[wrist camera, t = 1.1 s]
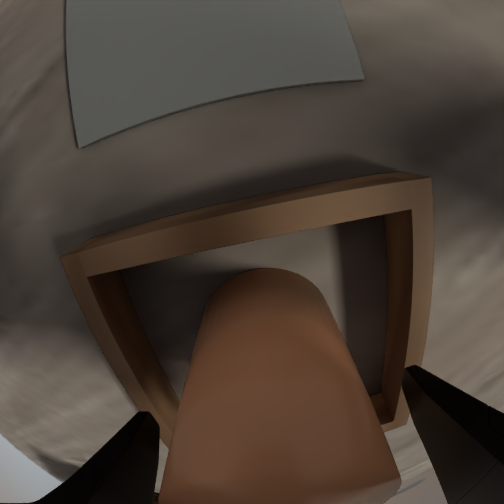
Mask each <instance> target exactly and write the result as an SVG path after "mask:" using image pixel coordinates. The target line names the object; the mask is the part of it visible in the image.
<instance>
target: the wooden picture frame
mask: <svg viewBox="0 0 504 504" xmlns="http://www.w3.org/2000/svg"><path fill="white" fill-rule="evenodd" d="M383 214H384V220H385V234H386V252H387V326H386V344H385V358H384V369H383V378H382V387H381V393H378V394H375V395H372V396H369V398H370V400H371V402H372V405H373V407H374V410H375V412H376V415H377V417H378V419H379V422H380V424H381V427H382V429H383V432H387V431H390V430H392V429H395V428H398V427H401V426H403V425H406V424H407V420H408V417H409V414H410V411H409V408H408V405H407V402H406V399H405V396H404V393H403V390H402V378H403V372H404V369H405V368H406V367H408V366H411V365H418V366H419V367H421V365H422V360H423V354H424V349H425V343H426V337H427V330H428V323H429V315H430V306H431V296H432V283H433V266H434V209H433V191H432V179H431V177H427V176H422V175H417V174H411V173H406V172H400V171H398V172H390V173H383V174H376V175H370V176H363V177H357V178H350V179H344V180H338V181H332V182H327V183H321V184H315V185H310V186H304V187H299V188H294V189H289V190H284V191H279V192H274V193H269V194H264V195H259V196H254V197H250V198H245V199H240V200H236V201H231V202H227V203H222V204H218V205H214V206H209V207H205V208H201V209H197V210H193V211H189V212H185V213H181V214H177V215H173V216H169V217H165V218H161V219H157V220H153V221H150V222H146V223H142V224H139V225H135V226H131V227H128V228H124V229H121V230H117V231H114V232H110V233H107V234H103V235H100V236H97V237H93V238H90V239H88V240H86V241H85V242H83V243H82V244H80V245H79V246H77V247H75V248H74V249H72V250H71V251H69V252H68V253H66V254H65V255H63V256H62V257H60V260H61V262H62V265H63V268H64V270H65V273H66V275H67V278H68V280H69V283H70V285H71V288H72V290H73V292H74V295H75V297H76V299H77V301H78V304H79V306H80V308H81V310H82V312H83V314H84V316H85V318H86V321H87V323H88V325H89V327H90V329H91V331H92V333H93V334H94V336H95V338H96V340H97V342H98V344H99V346H100V348H101V349H102V351H103V353H104V355H105V357H106V358H107V360H108V362H109V364H110V365H111V367H112V369H113V370H114V372H115V374H116V375H117V377H118V379H119V380H120V382H121V383H122V385H123V387H124V388H125V390H126V391H127V393H128V394H129V396H130V397H131V399H132V400H133V402H134V403H135V405H136V406H137V408H138V409H139V410H140V411H149V412H150V413H151V414H152V415H153V417H154V418H155V420H156V421H157V422H158V424H159V426H160V439H161V440H162V441H163V442H164V444H165V445H166V446H167V447H168V449H169V448H170V443H171V439H172V435H173V430H174V426H175V422H176V418H177V413H178V409H179V405H180V400H179V399H178V397H177V395H176V393H175V392H174V390H173V388H172V386H171V384H170V383H169V381H168V379H167V377H166V375H165V373H164V371H163V369H162V367H161V365H160V363H159V362H158V360H157V358H156V356H155V354H154V351H153V349H152V347H151V345H150V343H149V341H148V339H147V337H146V335H145V333H144V330H143V328H142V326H141V324H140V321H139V319H138V317H137V315H136V312H135V310H134V308H133V305H132V303H131V300H130V298H129V296H128V293H127V291H126V288H125V286H124V283H123V280H122V278H121V275H120V272H119V270H120V269H124V268H129V267H133V266H138V265H142V264H147V263H151V262H156V261H161V260H165V259H170V258H174V257H179V256H184V255H188V254H193V253H198V252H202V251H207V250H212V249H216V248H221V247H226V246H230V245H235V244H240V243H245V242H250V241H254V240H259V239H264V238H269V237H274V236H278V235H283V234H288V233H293V232H298V231H303V230H308V229H313V228H318V227H323V226H328V225H333V224H338V223H343V222H348V221H353V220H358V219H363V218H368V217H373V216H378V215H383Z"/></svg>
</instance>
